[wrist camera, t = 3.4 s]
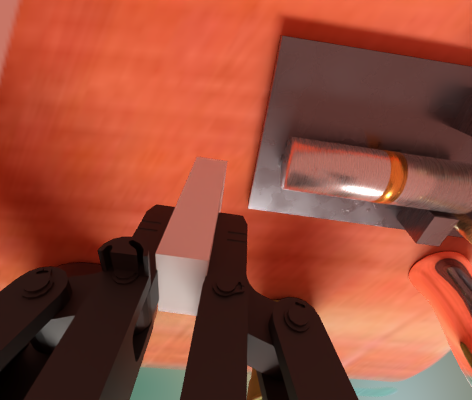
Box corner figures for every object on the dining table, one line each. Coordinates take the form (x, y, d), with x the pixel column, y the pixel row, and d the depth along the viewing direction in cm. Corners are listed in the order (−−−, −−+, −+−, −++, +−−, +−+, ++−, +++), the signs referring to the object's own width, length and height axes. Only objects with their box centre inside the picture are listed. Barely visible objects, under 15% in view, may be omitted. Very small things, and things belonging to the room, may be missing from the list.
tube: (280, 158, 23) (279, 199, 21) (294, 124, 19) (294, 169, 17) (435, 180, 23) (448, 222, 21) (476, 152, 20) (497, 198, 18)
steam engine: (248, 202, 26) (248, 244, 20) (280, 35, 18) (293, 37, 13) (508, 237, 27) (568, 286, 22) (643, 95, 19) (786, 118, 14)
